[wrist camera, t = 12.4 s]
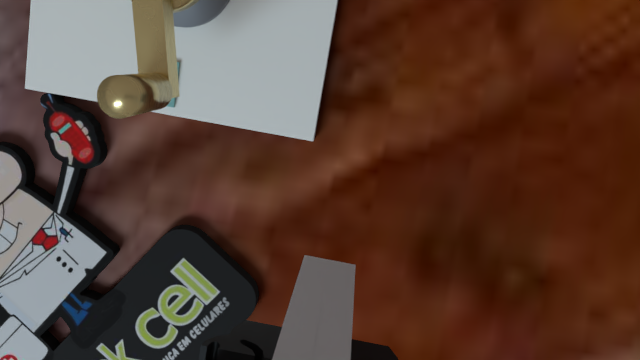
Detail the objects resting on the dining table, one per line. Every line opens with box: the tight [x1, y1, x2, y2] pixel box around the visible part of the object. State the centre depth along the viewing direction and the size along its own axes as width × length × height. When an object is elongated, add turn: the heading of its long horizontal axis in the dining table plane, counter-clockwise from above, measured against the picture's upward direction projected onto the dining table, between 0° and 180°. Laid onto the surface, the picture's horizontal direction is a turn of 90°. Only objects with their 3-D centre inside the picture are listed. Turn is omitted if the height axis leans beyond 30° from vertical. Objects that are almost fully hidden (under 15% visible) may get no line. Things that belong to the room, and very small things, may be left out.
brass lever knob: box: [97, 0, 199, 118], centre depth 38 cm, size 13×6×11 cm, turn 2°
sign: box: [0, 93, 259, 360], centre depth 53 cm, size 27×2×30 cm
